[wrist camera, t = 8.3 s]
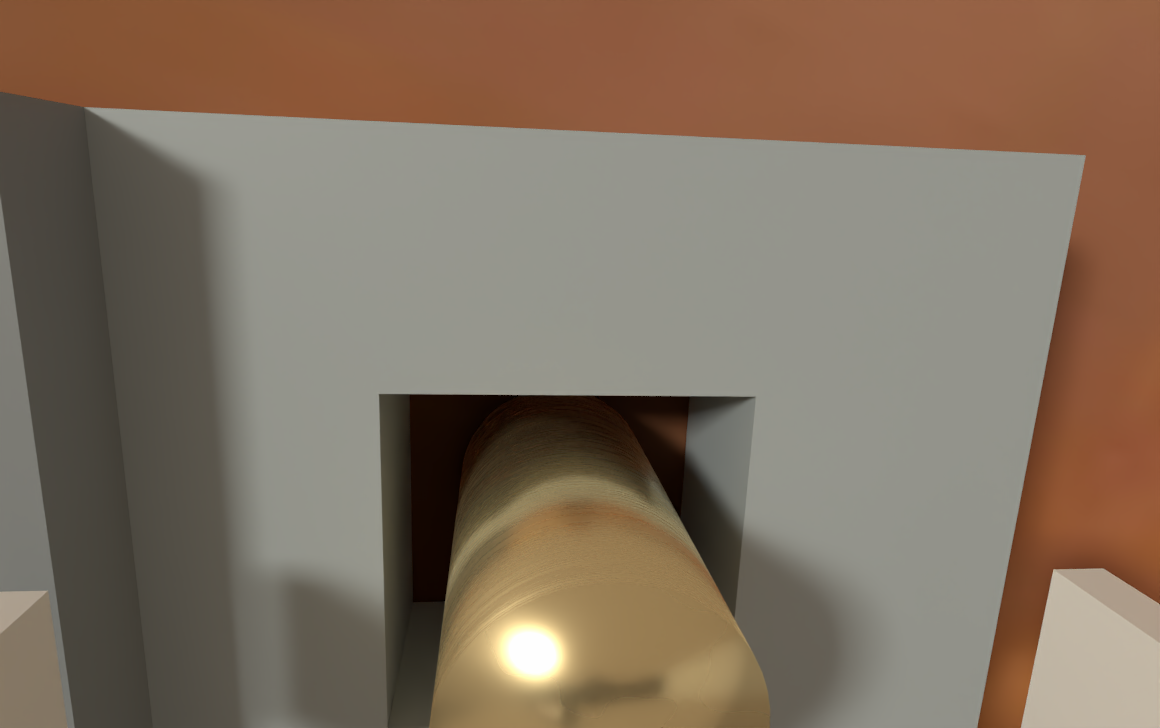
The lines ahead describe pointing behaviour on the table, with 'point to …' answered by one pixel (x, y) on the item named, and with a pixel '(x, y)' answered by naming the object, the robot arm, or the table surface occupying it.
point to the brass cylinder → (581, 587)
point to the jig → (504, 391)
